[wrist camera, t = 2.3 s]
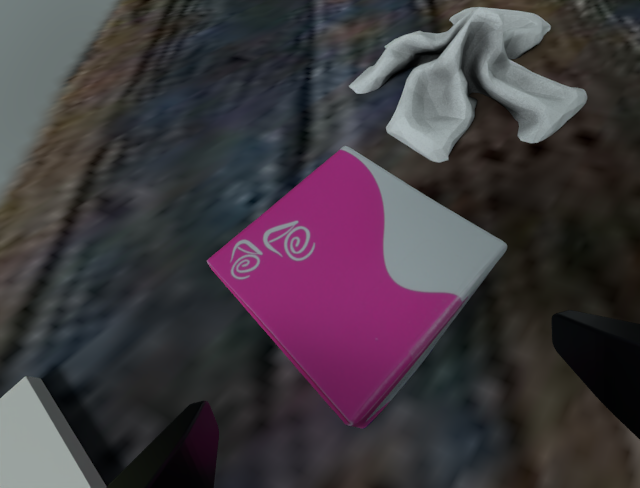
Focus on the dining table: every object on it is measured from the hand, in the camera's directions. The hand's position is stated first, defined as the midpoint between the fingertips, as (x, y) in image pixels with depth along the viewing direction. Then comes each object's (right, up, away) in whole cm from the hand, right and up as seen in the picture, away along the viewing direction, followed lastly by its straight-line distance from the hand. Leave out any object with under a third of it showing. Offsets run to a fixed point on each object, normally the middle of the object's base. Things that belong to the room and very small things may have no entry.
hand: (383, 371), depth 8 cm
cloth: (+9, +17, +21) cm, 28 cm away
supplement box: (+1, -3, +10) cm, 10 cm away
